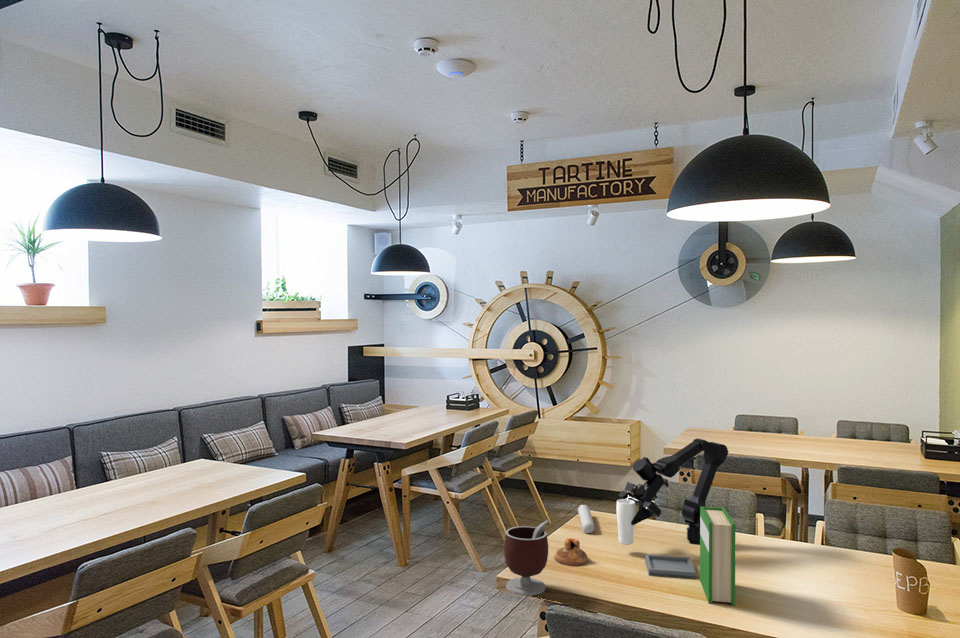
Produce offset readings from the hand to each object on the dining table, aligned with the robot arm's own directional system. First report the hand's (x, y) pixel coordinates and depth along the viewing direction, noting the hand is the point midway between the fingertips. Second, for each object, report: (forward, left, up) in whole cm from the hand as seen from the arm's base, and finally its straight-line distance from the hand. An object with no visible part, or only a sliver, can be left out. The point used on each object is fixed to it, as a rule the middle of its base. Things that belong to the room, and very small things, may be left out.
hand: (626, 521), depth 230 cm
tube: (+14, -30, -12) cm, 36 cm away
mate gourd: (+32, +37, -11) cm, 50 cm away
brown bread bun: (+20, +11, -12) cm, 25 cm away
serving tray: (-14, +13, -11) cm, 22 cm away
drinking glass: (0, 0, -8) cm, 8 cm away
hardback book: (-26, +30, -11) cm, 41 cm away
